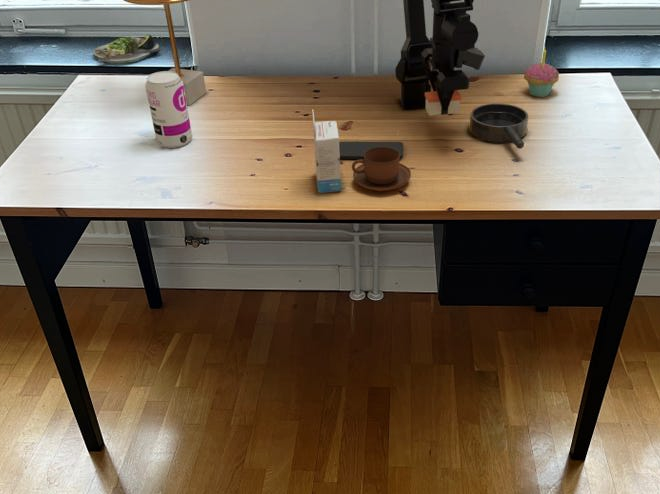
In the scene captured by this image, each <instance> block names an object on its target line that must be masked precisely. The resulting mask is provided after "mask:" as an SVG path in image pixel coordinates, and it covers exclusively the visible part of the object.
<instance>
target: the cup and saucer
mask: <svg viewBox="0 0 660 494" xmlns="http://www.w3.org/2000/svg"><path fill="white" fill-rule="evenodd" d="M400 161H401V159H400V154H399V152H398V151H397V150H395V149H393V148H389V147H375V148H371V149H369V150H367V151H366V152H365V153H364V159H355V160H354V161H353V162H352V164H351V170H352V171H353V172H352V178H353V180H354V182H355V183H356V184H358V185H359V186H361V188H365V189H367V190H369V191H378V192H380V191H381V192H383V191H384V192H385V191H386V192H387V191H393V190H396V189H398V188H399V189H400V188H402V187H403V186H404V185H406V184H407V183H408V182H409V181H410V179H411V175H412V173H411V172H412V171H411V170H410V168H409V167H408V166H406V165H405V164H403V163H401V162H400ZM357 164H360V165H359V166H356V165H357Z"/></svg>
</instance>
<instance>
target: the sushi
mask: <svg viewBox="0 0 660 494" xmlns="http://www.w3.org/2000/svg"><path fill="white" fill-rule="evenodd" d="M425 97H426V107H425V110H426V112H427V113H428V116H430V117H432V116H443V115H451V114H459V113H460V102H461V100H462V95H461V93H460V92H459V90H455V91H454V93H453V96H452V99H451V102H450V104H449V107H448V110H446V111H443V110H442V107H441V104H440V101H439V98H438V95H437V91H434V92H433V91H431V92H425Z"/></svg>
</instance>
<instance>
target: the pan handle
mask: <svg viewBox="0 0 660 494" xmlns="http://www.w3.org/2000/svg"><path fill="white" fill-rule="evenodd" d="M505 132H506V134H507V135H508V136H509V138H510V139H511V140H512V142H511V143H512V144H514V146H515V147H516V148H517V149H521V150H522V149H523V148H524V146H525V142H524V141H523V140H522V137H521V138H520V137H519V136H518V135H517V133H516V132H515V131H514V130H513V128H512V127H507V128H506V129H505Z"/></svg>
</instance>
